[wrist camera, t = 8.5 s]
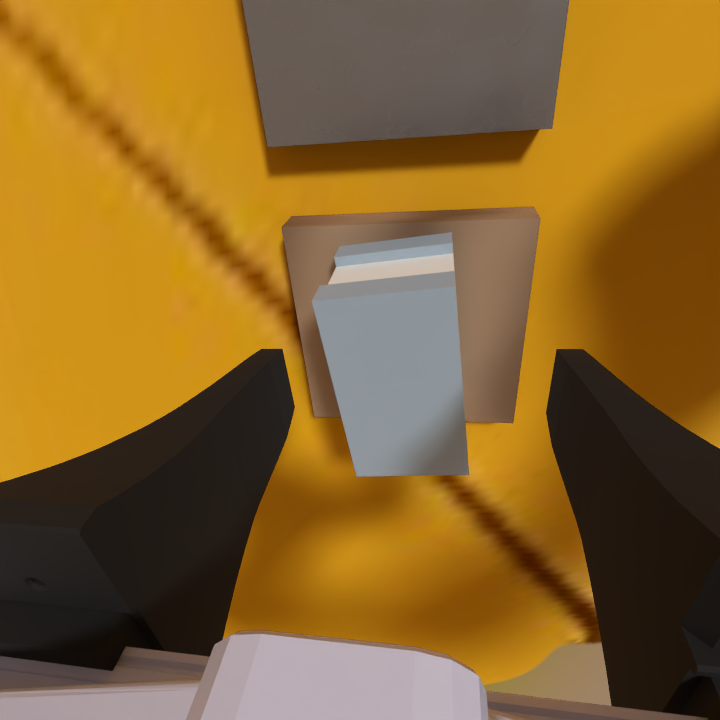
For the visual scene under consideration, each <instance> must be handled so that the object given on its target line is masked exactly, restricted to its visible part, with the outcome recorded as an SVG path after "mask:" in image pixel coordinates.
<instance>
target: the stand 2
mask: <svg viewBox="0 0 720 720" xmlns="http://www.w3.org/2000/svg"><path fill="white" fill-rule="evenodd" d="M539 225H540V217H539V215H538V213H537V212H536V210H535V208H534V207H516V208H491V209H466V210H441V211H416V212H391V213H366V214H342V215H317V216H292V217H290V218H289V220H288V221H287V222H286V223H285V224H284V225H283V226H282V233H283V239H284V245H285V250H286V256H287V262H288V268H289V273H290V279H291V285H292V291H293V296H294V302H295V308H296V314H297V319H298V325H299V331H300V337H301V342H302V348H303V354H304V360H305V366H306V371H307V377H308V383H309V389H310V394H311V400H312V406H313V412H314V417H337V418H341V414H340V410H339V406H338V402H337V398H336V394H335V390H334V386H333V383H332V379H331V375H330V371H329V367H328V363H327V359H326V355H325V351H324V347H323V343H322V340H321V336H320V332H319V328H318V324H317V320H316V316H315V312H314V308H313V304H312V300H313V298H314V296H315V294H316V292H317V290H318V288H319V286H320V285H328V283H329V281H330V279H331V277H332V275H333V272H334V270H335V268H336V264H335V260H334V256H335V254H336V252H337V250H338V248H339V247H340V246H347V245H355V244H363V243H371V242H379V241H387V240H395V239H403V238H410V237H418V236H426V235H434V234H442V233H450V232H452V242H453V256H454V270H455V284H456V298H457V312H458V326H459V339H460V353H461V367H462V381H463V395H464V409H465V422H493V423H513V421H514V414H515V406H516V398H517V391H518V383H519V376H520V368H521V361H522V353H523V345H524V338H525V330H526V323H527V315H528V308H529V300H530V293H531V285H532V277H533V270H534V262H535V255H536V247H537V240H538V232H539Z"/></svg>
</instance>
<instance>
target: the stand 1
mask: <svg viewBox="0 0 720 720" xmlns="http://www.w3.org/2000/svg"><path fill="white" fill-rule="evenodd" d="M242 3H243V9H244V14H245V20H246V26H247V32H248V37H249V43H250V49H251V55H252V60H253V66H254V72H255V78H256V83H257V89H258V95H259V101H260V107H261V112H262V118H263V124H264V130H265V135H266V141H267V147H279V146H294V145H309V144H325V143H340V142H355V141H370V140H385V139H401V138H416V137H431V136H446V135H461V134H477V133H492V132H507V131H522V130H537V129H552V126H553V119H554V111H555V104H556V96H557V88H558V81H559V73H560V66H561V58H562V51H563V43H564V36H565V28H566V20H567V13H568V5H569V0H242Z"/></svg>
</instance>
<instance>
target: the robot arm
mask: <svg viewBox="0 0 720 720" xmlns="http://www.w3.org/2000/svg"><path fill="white" fill-rule="evenodd" d="M294 408H295V406H294V401H293V396H292V392H291V387H290V382H289V378H288V373H287V369H286V364H285V359H284V355H283V350H282V349H261V350H259V351H258V352H256V353H255V354H253V355H252V356H250V357H249V358H248V359H246V360H245V361H243V362H242V363H241V364H239V365H238V366H237V367H235V368H234V369H233V370H231V371H230V372H229V373H227V374H226V375H225V376H223V377H222V378H221V379H219V380H218V381H216V382H215V383H214V384H212V385H211V386H210V387H208V388H207V389H205V390H204V391H202V392H201V393H199V394H198V395H196V396H195V397H193V398H192V399H190V400H189V401H187V402H186V403H184V404H183V405H181V406H180V407H178V408H177V409H175V410H173V411H172V412H170V413H168V414H167V415H165V416H163V417H162V418H160V419H158V420H156V421H154V422H153V423H151V424H149V425H147V426H145V427H143V428H141V429H139V430H137V431H135V432H133V433H131V434H129V435H127V436H125V437H123V438H120V439H118V440H116V441H114V442H112V443H110V444H108V445H106V446H103V447H101V448H99V449H96V450H94V451H91V452H89V453H86V454H84V455H82V456H79V457H76V458H74V459H71V460H68V461H66V462H63V463H60V464H57V465H55V466H52V467H49V468H46V469H43V470H39V471H36V472H33V473H30V474H27V475H24V476H21V477H17V478H14V479H11V480H8V481H4V482H1V483H0V720H720V449H719V448H717V447H715V446H714V445H712V444H710V443H709V442H707V441H705V440H704V439H702V438H700V437H699V436H697V435H696V434H694V433H692V432H691V431H689V430H687V429H686V428H684V427H683V426H681V425H680V424H678V423H677V422H675V421H674V420H672V419H671V418H669V417H668V416H667V415H665V414H664V413H662V412H661V411H659V410H658V409H657V408H655V407H654V406H652V405H651V404H650V403H648V402H647V401H646V400H644V399H643V398H642V397H640V396H639V395H638V394H637V393H635V392H634V391H633V390H632V389H630V388H629V387H628V386H627V385H625V384H624V383H623V382H622V381H620V380H619V379H618V378H617V377H616V376H614V375H613V374H612V373H611V372H610V371H608V370H607V369H606V368H605V367H604V366H603V365H601V364H600V363H599V362H598V361H597V360H595V359H594V358H593V357H592V356H591V355H589V354H588V353H587V352H586V351H584V350H583V349H557V351H556V357H555V363H554V369H553V375H552V381H551V387H550V393H549V399H548V405H547V411H546V414H547V420H548V426H549V432H550V438H551V443H552V448H553V451H554V454H555V457H556V460H557V463H558V466H559V470H560V473H561V476H562V479H563V482H564V485H565V488H566V491H567V494H568V497H569V500H570V503H571V506H572V509H573V512H574V515H575V518H576V521H577V525H578V528H579V532H580V535H581V539H582V543H583V548H584V553H585V558H586V562H587V567H588V572H589V577H590V582H591V587H592V592H593V597H594V603H595V608H596V613H597V618H598V624H599V630H600V636H601V642H602V648H603V653H604V659H605V665H606V671H607V678H608V685H609V691H610V698H611V704H612V706H606V705H598V704H590V703H581V702H573V701H565V700H557V699H549V698H540V697H533V696H525V695H516V694H508V693H500V692H492V691H485V689H484V686H483V684H482V682H481V680H480V678H479V676H478V675H477V674H476V673H475V672H474V671H473V670H472V669H471V668H470V667H468V666H466V665H465V664H463V663H461V662H460V661H458V660H456V659H455V658H453V657H451V656H449V655H447V654H443V653H439V652H435V651H431V650H426V649H422V648H418V647H412V646H403V645H394V644H385V643H376V642H367V641H358V640H349V639H340V638H331V637H322V636H312V635H303V634H294V633H285V632H276V631H267V630H259V631H238V632H236V633H234V634H232V635H230V636H228V637H227V638H225V639H223V635H224V630H225V625H226V621H227V617H228V613H229V609H230V605H231V600H232V596H233V592H234V588H235V584H236V580H237V577H238V573H239V569H240V565H241V562H242V558H243V554H244V551H245V547H246V544H247V540H248V537H249V534H250V530H251V527H252V523H253V520H254V517H255V514H256V512H257V509H258V506H259V503H260V501H261V499H262V496H263V494H264V491H265V489H266V487H267V484H268V482H269V480H270V477H271V475H272V472H273V470H274V468H275V465H276V463H277V461H278V458H279V456H280V453H281V451H282V448H283V446H284V443H285V441H286V438H287V435H288V432H289V428H290V424H291V420H292V416H293V412H294Z"/></svg>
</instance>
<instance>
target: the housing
mask: <svg viewBox="0 0 720 720" xmlns="http://www.w3.org/2000/svg"><path fill="white" fill-rule="evenodd" d="M334 260H335V264H336V268H335V270H334V272H333V275H332V277H331V279H330V281H329V283H328V285H320V286H319V288H318V290H317V292H316V294H315V296H314V298H313V300H312V304H313V308H314V312H315V316H316V320H317V324H318V328H319V332H320V336H321V340H322V343H323V347H324V351H325V355H326V359H327V363H328V367H329V371H330V375H331V379H332V383H333V386H334V390H335V394H336V398H337V402H338V406H339V410H340V414H341V418H342V422H343V426H344V429H345V433H346V437H347V441H348V445H349V449H350V453H351V457H352V461H353V465H354V469H355V472H356V476H357V477H363V476H425V475H469V467H468V452H467V438H466V424H465V409H464V395H463V381H462V367H461V353H460V339H459V326H458V312H457V298H456V284H455V270H454V256H453V242H452V232H450V233H442V234H434V235H426V236H418V237H410V238H403V239H395V240H387V241H379V242H371V243H363V244H355V245H347V246H340V247H339V248H338V250H337V252H336V254H335V256H334Z"/></svg>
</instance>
